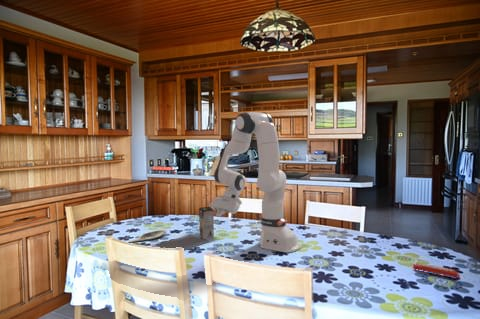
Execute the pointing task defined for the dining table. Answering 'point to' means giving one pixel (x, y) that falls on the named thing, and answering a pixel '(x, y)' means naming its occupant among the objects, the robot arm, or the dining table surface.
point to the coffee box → (206, 222)
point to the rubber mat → (183, 242)
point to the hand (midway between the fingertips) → (217, 216)
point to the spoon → (150, 235)
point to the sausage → (436, 269)
